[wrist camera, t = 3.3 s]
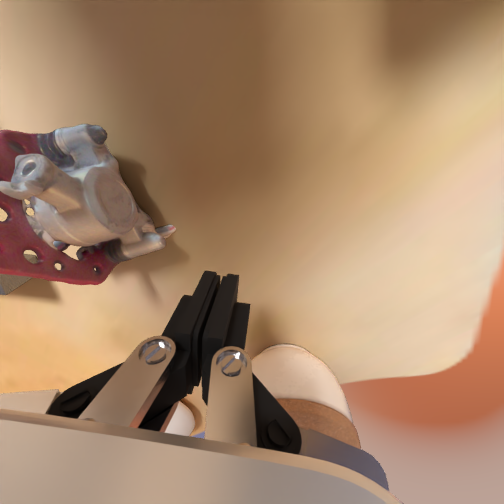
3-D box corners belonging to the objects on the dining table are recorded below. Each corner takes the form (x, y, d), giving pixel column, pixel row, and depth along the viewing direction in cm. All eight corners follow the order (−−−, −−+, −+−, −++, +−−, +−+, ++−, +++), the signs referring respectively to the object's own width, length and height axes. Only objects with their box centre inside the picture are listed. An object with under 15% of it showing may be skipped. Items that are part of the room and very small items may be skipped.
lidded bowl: (230, 325, 28) (207, 435, 18) (344, 327, 27) (382, 446, 17) (239, 391, 34) (226, 500, 24) (332, 395, 33) (357, 512, 23)
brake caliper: (-35, 155, 18) (-184, 137, 9) (115, 118, 22) (131, 78, 13) (60, 277, 23) (34, 353, 14) (168, 229, 27) (207, 262, 18)
